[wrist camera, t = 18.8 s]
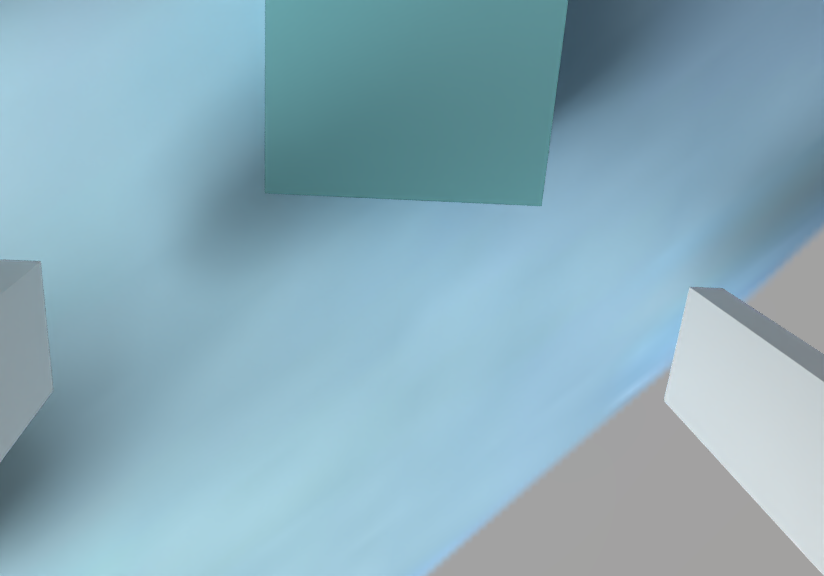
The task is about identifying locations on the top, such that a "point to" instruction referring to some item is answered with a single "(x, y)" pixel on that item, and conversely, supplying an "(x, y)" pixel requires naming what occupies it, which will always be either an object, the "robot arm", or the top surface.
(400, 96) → the teal and grey bar
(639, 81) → the top surface
